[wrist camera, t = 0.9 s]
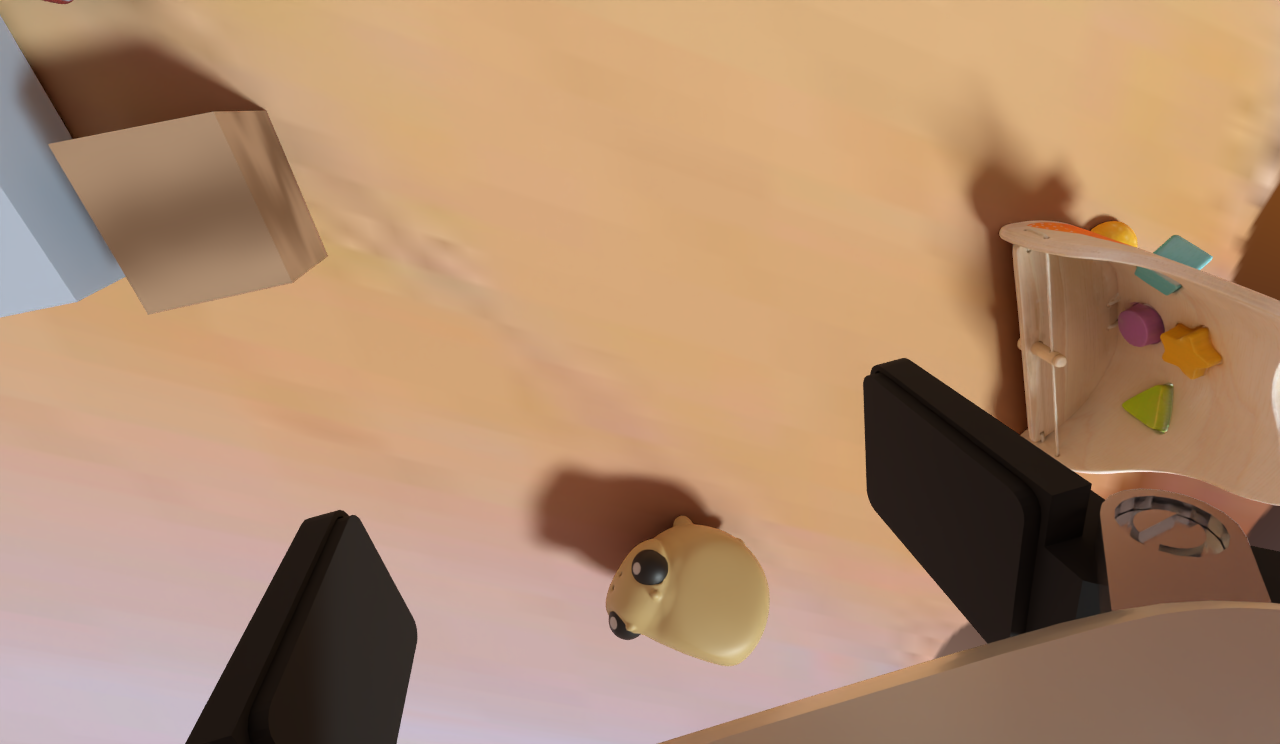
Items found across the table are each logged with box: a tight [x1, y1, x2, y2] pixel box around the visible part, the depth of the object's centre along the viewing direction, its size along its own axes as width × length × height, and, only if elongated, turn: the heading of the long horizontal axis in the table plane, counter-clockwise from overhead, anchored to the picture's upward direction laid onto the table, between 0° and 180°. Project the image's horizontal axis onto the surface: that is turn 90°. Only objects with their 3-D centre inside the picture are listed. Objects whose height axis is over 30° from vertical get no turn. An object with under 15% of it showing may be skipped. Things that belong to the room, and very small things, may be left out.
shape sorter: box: [999, 220, 1280, 506], centre depth 38 cm, size 20×10×18 cm, turn 21°
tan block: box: [48, 111, 328, 315], centre depth 30 cm, size 8×7×6 cm
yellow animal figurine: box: [606, 516, 769, 666], centre depth 44 cm, size 10×12×11 cm
